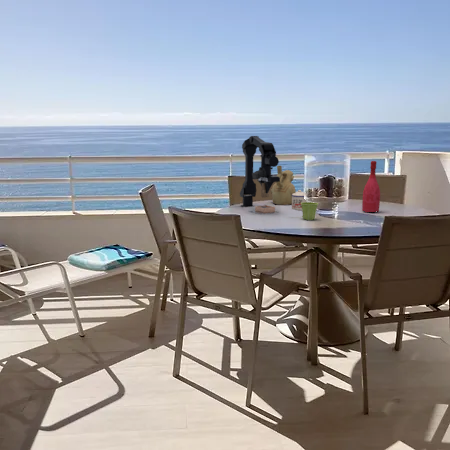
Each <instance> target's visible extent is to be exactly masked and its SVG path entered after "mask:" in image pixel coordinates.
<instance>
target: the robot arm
mask: <svg viewBox="0 0 450 450" xmlns="http://www.w3.org/2000/svg"><path fill="white" fill-rule="evenodd" d="M241 148H242V153H243V154H244V156H245V157H244V159H245V162H244V163H245V166H244V167H245V172H244V173H245V175H244V182H243V183H242V187H241V190H240V192H239V197H241V198H242V204H241V205H240V207H243V208H251V207H254V204H253V203H254V198H256V195H257V183H255V181H254V180H257V182H258V183H259V184H260V186H261V188H262V183H265V191H266V193H268V192H269V193H270V191H271V189H272V187H273V185H274V184H275V183H276V182H280V178H279V177H278V176H277V175H273V174H272V170H273V169H274V167H276V168H277V166H279V162H280V161H279V158H278V157H277V151H276V149H275V145H274V144H273V143H272V142H267V141H264V139H262V138H260V137H259V136H258V135H250V136H249V138H247V139H245V140H244V141H243V142H242V145H241ZM257 149H258V150H259V152H260V156H259V157H260V167H259V168H258V170H256V171H254V156H255V155H256V153H257Z"/></svg>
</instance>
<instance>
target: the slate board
mask: <svg viewBox="0 0 450 450" xmlns="http://www.w3.org/2000/svg"><path fill="white" fill-rule="evenodd" d="M248 212H250V213H254V214H258V215H265V214H267V215H268V214H269V213H260V212H256V211H255V210H254V209H253V210H248ZM276 213H277V214H278V210H275V212H273V213H272V214H276Z"/></svg>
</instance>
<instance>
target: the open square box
mask: <svg viewBox="0 0 450 450" xmlns="http://www.w3.org/2000/svg"><path fill="white" fill-rule="evenodd" d="M254 209H255V211H256V212H260V213H268V214H274V213H273V212H275V211H276V207H275V206H272V205H268V204H267V205H265V204H264V205H254Z"/></svg>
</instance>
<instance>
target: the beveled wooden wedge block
mask: <svg viewBox="0 0 450 450" xmlns="http://www.w3.org/2000/svg"><path fill="white" fill-rule="evenodd" d="M260 196H261V198H270V191H269V192H268V193H266V191H265V183H262V187H261V195H260Z"/></svg>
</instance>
